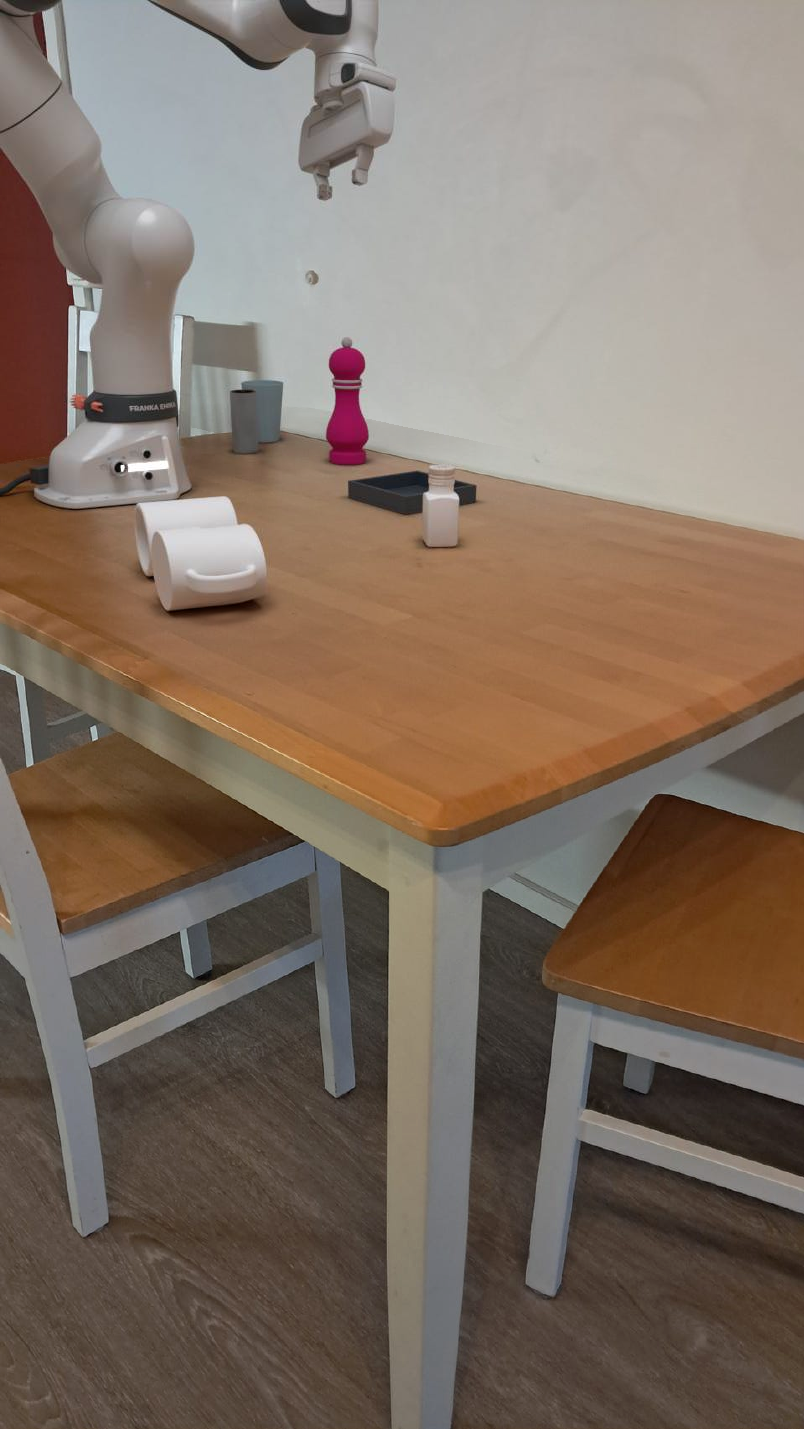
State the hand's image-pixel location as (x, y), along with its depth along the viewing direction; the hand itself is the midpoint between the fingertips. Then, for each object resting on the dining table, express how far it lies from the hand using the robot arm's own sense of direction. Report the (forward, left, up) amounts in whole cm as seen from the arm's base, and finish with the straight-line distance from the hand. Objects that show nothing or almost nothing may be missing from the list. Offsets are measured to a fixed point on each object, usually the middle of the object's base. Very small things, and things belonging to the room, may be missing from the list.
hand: (341, 191), depth 155 cm
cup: (+7, +34, -41) cm, 54 cm away
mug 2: (-51, -47, -41) cm, 81 cm away
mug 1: (-46, -32, -41) cm, 70 cm away
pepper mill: (+7, +8, -41) cm, 42 cm away
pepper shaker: (-16, -42, -41) cm, 61 cm away
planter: (-2, +26, -41) cm, 49 cm away
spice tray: (-3, -21, -41) cm, 46 cm away
